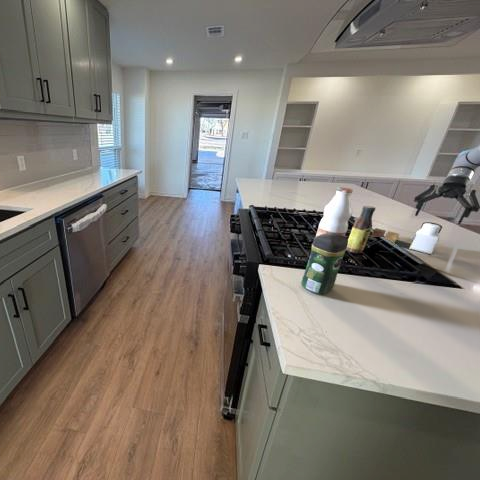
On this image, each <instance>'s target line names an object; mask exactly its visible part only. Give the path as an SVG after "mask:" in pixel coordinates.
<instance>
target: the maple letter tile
mask: <svg viewBox="0 0 480 480" xmlns="http://www.w3.org/2000/svg"><path fill="white" fill-rule="evenodd" d="M399 236H400V233H398V232H393V231H391V230H389V231H386V232H385V235H384V237H385V238H386V239H388V240H390V241H392V242H394V243H395V242H396V241H397V240H398V239H399Z"/></svg>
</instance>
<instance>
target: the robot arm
mask: <svg viewBox="0 0 480 480" xmlns="http://www.w3.org/2000/svg"><path fill="white" fill-rule="evenodd" d="M479 167H480V144H479V145H478V146H476V147H475V148H473V149H467V150H463V151H461V152H460V153H459V154H458V155H457V157H456V158H455V159H454V162H453V163H452V166H451V168H450V170H449V171H448V173H447V175H446V177H445V179H444V181H443V183H442V185H440V186H436V184H432V185H431V186H430V187H429V188H428V189H426V190H425V191H423V192H421V193H419V194H418V195H416V196H415V197H414V199H413V202H414V203H416V205H415V209H416V211H415V214H414V216H416V217H418V215H419V213H420V211H421V210H422V208H423V206H424V204H425V203H427V202H429V201H432V200H435V199H439V198H445V199H455V200H456V201H457V202H458V203H459V204H460V205H461V206H462V207H463V208H464V210H463V213H462V214H461V216H460V218H459V220H458V222H457V224H458V225H461V224H462V222H463V220H464V218H469V216H470V215H471V213H472V212H475V213H478V212H479V211H480V203H479V201H478V198H477V195H476V192H477V190H476V189H471V190H467V188H468V186H469V184H470V182H471V180H472V178H473V176H474V174H475V172H476V171H477V169H478V168H479ZM465 194H466V196H467V197H468V199H469V200H468V199H467V198H465Z"/></svg>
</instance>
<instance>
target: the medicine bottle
mask: <svg viewBox="0 0 480 480" xmlns="http://www.w3.org/2000/svg"><path fill="white" fill-rule="evenodd" d="M442 229H443V225H441V224H440V223H436V222H430V221H426V222H423V223H422V224H421V226H420V228H419V230H418V229H417V231H416V233H415V235H414V237H413V239H412V242H411V246H410V248H411V249H415V250H419V251H423V252H427V253H431V254H432V253H433V252H434V250H435V248H436V246H437V244H438V242H439V240H440V236H441V234H440V233H441V231H442Z"/></svg>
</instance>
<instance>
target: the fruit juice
mask: <svg viewBox="0 0 480 480" xmlns="http://www.w3.org/2000/svg"><path fill="white" fill-rule="evenodd" d="M353 191H354V190H353V189H352V188H350V187H342V186H340V187H337V188H336V191H335V192H336V193H335V195H334V196H333V198H332V199H331V200H330V201H329V203H328V204H326V206H324V209H323V217H322V218H321V219H320V221H319V223H318V228H317V231H316V234H315V237H316V236H319V235H322V234H327V233H332V232H333V233H336V234H339V235H342V236H345V237H346V234H347V231H348V228H349V220H350V218H351V217H352V215H353V208H352V204H351V195H352V194H353Z"/></svg>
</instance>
